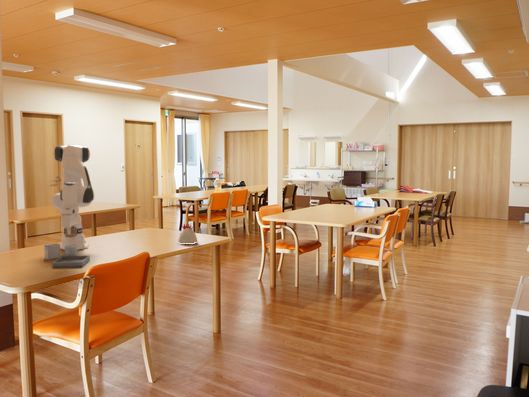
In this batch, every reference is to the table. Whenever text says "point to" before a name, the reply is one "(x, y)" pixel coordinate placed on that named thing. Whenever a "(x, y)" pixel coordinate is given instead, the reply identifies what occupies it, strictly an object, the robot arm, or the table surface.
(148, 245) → the table surface
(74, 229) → the walnut block
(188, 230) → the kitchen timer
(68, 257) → the tray
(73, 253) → the grey block
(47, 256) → the medicine box
